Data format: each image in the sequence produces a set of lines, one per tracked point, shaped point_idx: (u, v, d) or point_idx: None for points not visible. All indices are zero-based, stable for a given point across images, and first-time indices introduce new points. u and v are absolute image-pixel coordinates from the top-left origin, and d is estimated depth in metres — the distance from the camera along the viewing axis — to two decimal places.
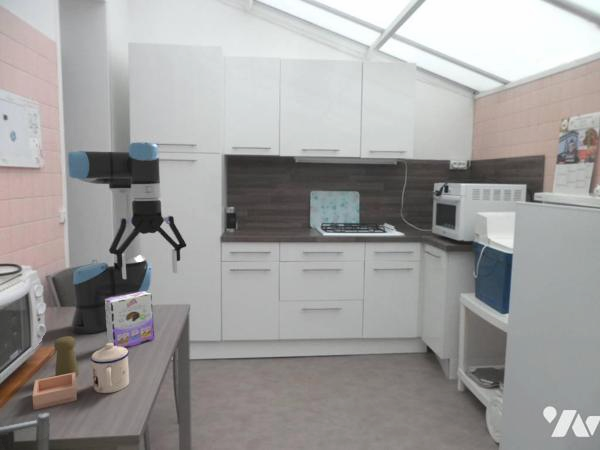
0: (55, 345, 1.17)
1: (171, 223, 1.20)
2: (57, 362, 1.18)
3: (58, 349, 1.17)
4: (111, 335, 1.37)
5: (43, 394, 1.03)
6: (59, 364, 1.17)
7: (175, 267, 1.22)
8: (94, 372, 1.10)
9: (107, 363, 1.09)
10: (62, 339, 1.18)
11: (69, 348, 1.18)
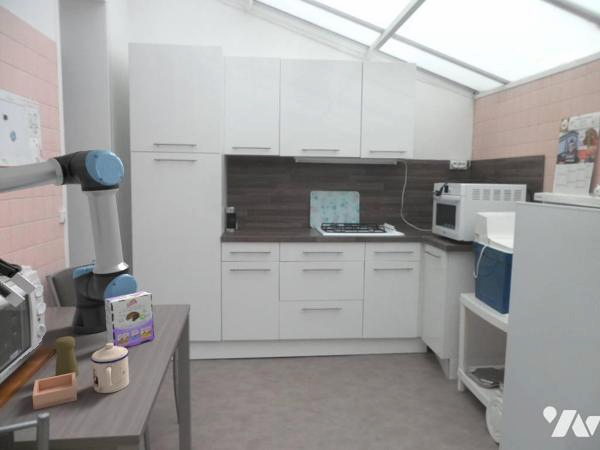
0: (55, 345, 1.17)
1: None
2: (57, 362, 1.18)
3: (58, 349, 1.17)
4: (111, 335, 1.37)
5: (43, 394, 1.03)
6: (59, 364, 1.17)
7: None
8: (94, 372, 1.10)
9: (107, 363, 1.09)
10: (62, 339, 1.18)
11: (69, 348, 1.18)
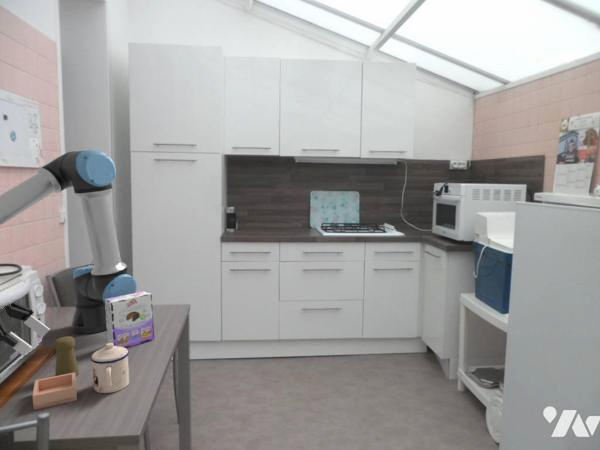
0: (55, 345, 1.17)
1: None
2: (57, 362, 1.18)
3: (58, 349, 1.17)
4: (111, 335, 1.37)
5: (43, 394, 1.03)
6: (59, 364, 1.17)
7: None
8: (94, 372, 1.10)
9: (107, 363, 1.09)
10: (62, 339, 1.18)
11: (69, 348, 1.18)
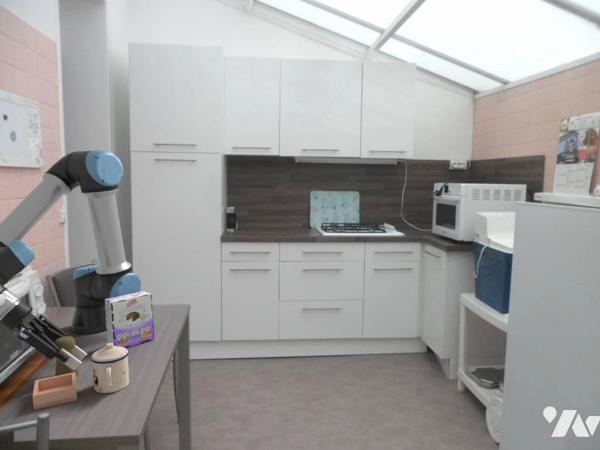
0: None
1: None
2: (57, 362, 1.18)
3: None
4: (111, 335, 1.37)
5: (43, 394, 1.03)
6: (59, 363, 1.17)
7: None
8: (94, 372, 1.10)
9: (107, 363, 1.09)
10: (62, 339, 1.18)
11: (69, 348, 1.18)
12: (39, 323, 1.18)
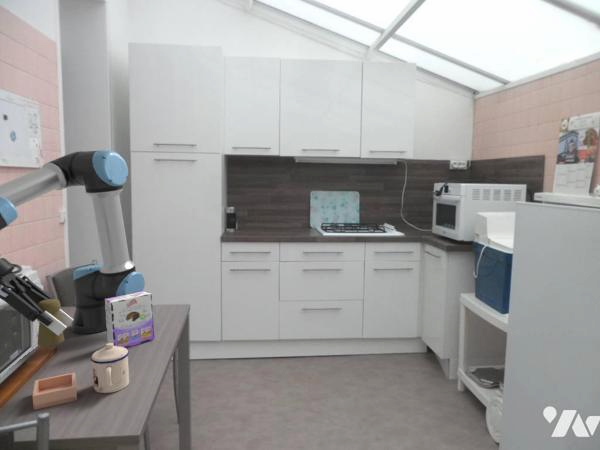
0: None
1: None
2: (40, 326, 1.07)
3: None
4: (111, 335, 1.37)
5: (43, 394, 1.03)
6: (42, 327, 1.07)
7: None
8: (94, 372, 1.10)
9: (107, 363, 1.09)
10: (46, 301, 1.08)
11: (53, 311, 1.07)
12: (21, 283, 1.08)
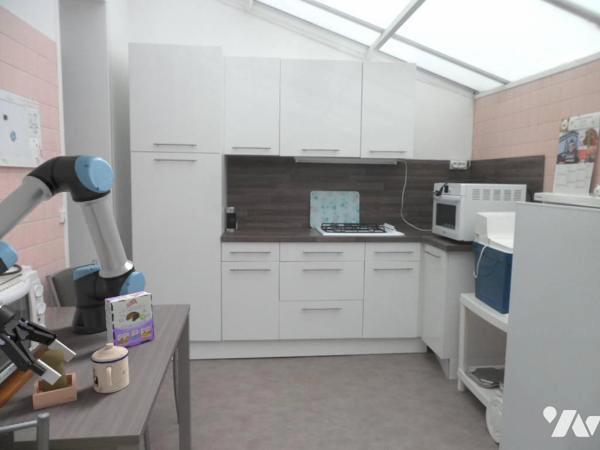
0: (42, 359, 1.06)
1: None
2: None
3: None
4: (111, 335, 1.37)
5: (43, 394, 1.03)
6: None
7: None
8: (94, 372, 1.10)
9: (107, 363, 1.09)
10: (50, 353, 1.06)
11: (57, 363, 1.06)
12: (25, 329, 1.07)
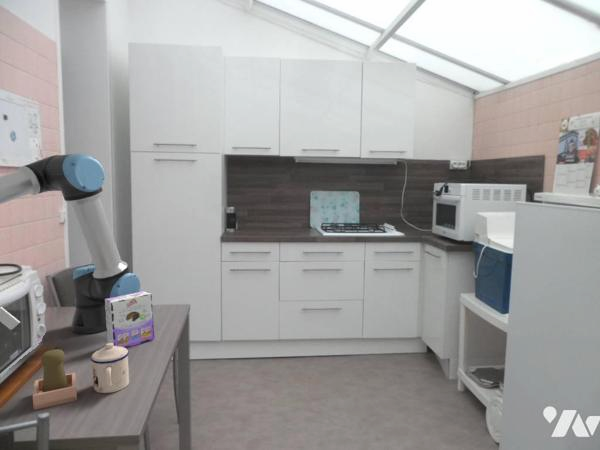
0: (42, 359, 1.06)
1: None
2: (44, 378, 1.06)
3: (45, 364, 1.05)
4: (111, 335, 1.37)
5: (43, 394, 1.03)
6: (46, 380, 1.06)
7: None
8: (94, 372, 1.10)
9: (107, 363, 1.09)
10: (50, 353, 1.06)
11: (57, 363, 1.06)
12: None
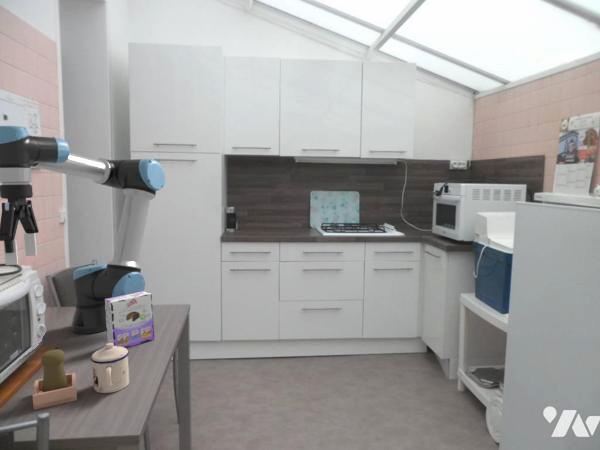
0: (42, 359, 1.06)
1: None
2: (44, 378, 1.06)
3: (45, 364, 1.05)
4: (111, 335, 1.37)
5: (43, 394, 1.03)
6: (46, 380, 1.06)
7: None
8: (94, 372, 1.10)
9: (107, 363, 1.09)
10: (50, 353, 1.06)
11: (57, 363, 1.06)
12: (25, 211, 1.20)
